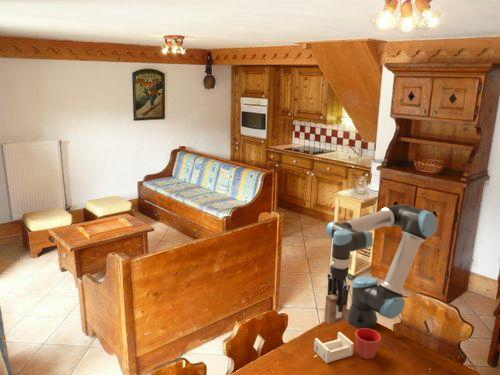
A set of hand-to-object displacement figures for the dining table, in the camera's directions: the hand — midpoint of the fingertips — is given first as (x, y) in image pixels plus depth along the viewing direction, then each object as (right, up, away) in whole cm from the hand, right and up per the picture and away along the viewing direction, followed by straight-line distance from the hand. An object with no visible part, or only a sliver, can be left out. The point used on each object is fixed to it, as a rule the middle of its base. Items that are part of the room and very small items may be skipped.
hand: (335, 315), depth 192 cm
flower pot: (+15, -19, +4) cm, 24 cm away
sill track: (0, -18, +4) cm, 19 cm away
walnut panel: (0, -3, +1) cm, 3 cm away
